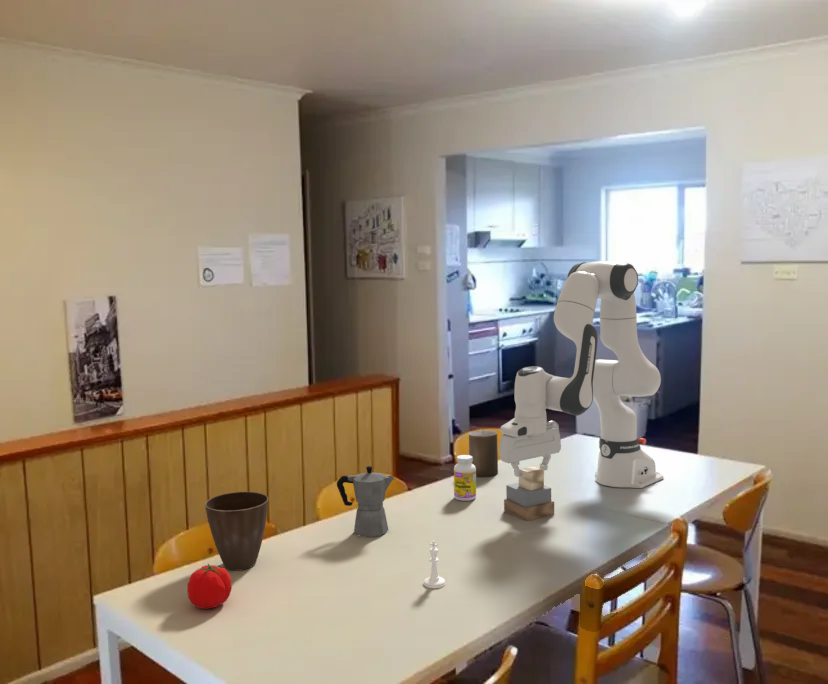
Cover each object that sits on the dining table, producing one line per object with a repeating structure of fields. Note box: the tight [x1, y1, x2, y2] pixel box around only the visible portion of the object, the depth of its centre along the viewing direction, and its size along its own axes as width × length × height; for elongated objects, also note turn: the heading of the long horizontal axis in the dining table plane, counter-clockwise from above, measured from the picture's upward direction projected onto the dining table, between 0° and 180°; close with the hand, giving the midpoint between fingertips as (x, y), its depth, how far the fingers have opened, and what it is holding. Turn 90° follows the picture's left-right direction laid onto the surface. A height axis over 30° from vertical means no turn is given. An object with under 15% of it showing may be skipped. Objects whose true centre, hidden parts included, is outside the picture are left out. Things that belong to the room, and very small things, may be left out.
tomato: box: [187, 563, 233, 609], centre depth 167 cm, size 9×10×8 cm
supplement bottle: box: [453, 454, 477, 502], centre depth 234 cm, size 7×7×13 cm
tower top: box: [505, 482, 552, 507], centre depth 220 cm, size 9×9×4 cm
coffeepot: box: [336, 465, 395, 538], centre depth 207 cm, size 15×9×18 cm, turn 92°
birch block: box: [518, 465, 545, 491], centre depth 219 cm, size 5×5×5 cm
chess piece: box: [423, 540, 447, 589], centre depth 174 cm, size 5×5×10 cm
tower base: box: [503, 498, 555, 522], centre depth 220 cm, size 10×10×4 cm
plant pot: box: [204, 491, 269, 571], centre depth 187 cm, size 15×15×16 cm
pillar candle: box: [468, 429, 499, 478], centre depth 260 cm, size 10×10×15 cm
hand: (531, 472), depth 219 cm, fingers open, 8 cm apart
